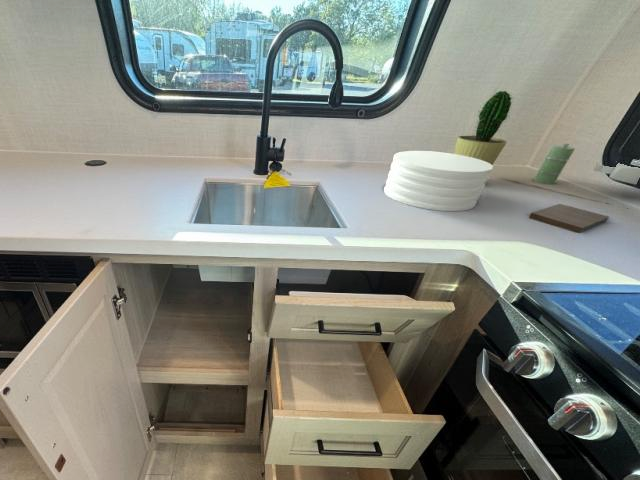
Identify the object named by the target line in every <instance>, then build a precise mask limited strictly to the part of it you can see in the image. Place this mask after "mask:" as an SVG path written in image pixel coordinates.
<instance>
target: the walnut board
mask: <svg viewBox="0 0 640 480" xmlns="http://www.w3.org/2000/svg"><path fill="white" fill-rule="evenodd" d="M528 218H529V219H530V220H531V219H532V220H534V221H538V222H542V223H545V224H548V225H552V226H555V227H558V228H561V229H564V230H568V231H571V232H574V233H577V234H581V233H582V232H585V231H588V230H589V229H592V228H594V227H596V226H599V225H601V224H604V223H606V222H607V221H608V220H609V219H610V216H609V215H605V214H600V213H596V212H593V211H590V210H585V209H582V208H577V207H574V206H570V205H567V204H563V203H557V204H554V205H552V206H549V207H545V208H543V209H539V210H536V211H533V212H531V213H530V215H529V216H528Z"/></svg>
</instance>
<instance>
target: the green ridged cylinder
mask: <svg viewBox="0 0 640 480" xmlns="http://www.w3.org/2000/svg"><path fill="white" fill-rule="evenodd" d="M575 150H576V148H575V147H572V146H570V143H567V142H562V143H561V145H552V147H551V148H550V150H549V152H548V154H547V155H546V156H545V159H544V161H543V163H542V165H541V166H540V168H539V169H538V171H537V173H536V175H535V177H534V179H533V181H534V182H536V183H540V184H544V185H554V184H555V183H556V181H557V180H558V179H559V177H560V175H562V172H563V170H564V168H565V167H566V165H567V163H568V162H569V161H570V158H571V157H572V156H573V154H574V152H575Z"/></svg>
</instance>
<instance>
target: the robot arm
mask: <svg viewBox="0 0 640 480" xmlns="http://www.w3.org/2000/svg"><path fill="white" fill-rule="evenodd" d="M593 171H595V172H599V173H603V174H607V175H609V176H608V177H609V179H611V180H614V181H618V182H622V183H627V184H631V185H636V184H637V182H638V180H639V178H640V168H638V167H631V166H627V165H624V164H620V163H618V164H617V165H616V167H609V166H604V165H597V163H596V165H595V167H594V168H593Z"/></svg>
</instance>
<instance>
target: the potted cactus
mask: <svg viewBox="0 0 640 480" xmlns="http://www.w3.org/2000/svg"><path fill="white" fill-rule="evenodd" d="M513 99H514V98H513V94H511V93H508V91H506V90H495V92H494V93H493V94H492V96H491V95H489V99H488V100H486V102H485V103H484V102H482V104H484V105H483V107H481V110H479V112H478V113H477V117H478V121H476V124H477V126H476V127H475V130H474V133H475V134H474V135H473V134H472V135H468V134H467V135H458V136H457V140H456V143H455V147H454V151H453V152H454V153H453V154H457V155H463V156H468V157H472V158H476V159H479V160H483V161H485V162H488V163H490V164H491V165H492V166H493V165H494V163H495V162H496V161H497V159H498V157H499V156H500V155H501V152H502V151H503V149H505V146H506V144H508V141H507V140H505V139H501V138H497V137H495V135H496V133H497V132H500V129H501V126H503V123H504V124H505V121H507V120H508V121H509V119H511V118H512V117H511V116H510V111H512V109H513V107H512V105H513V102H514V101H513Z"/></svg>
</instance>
